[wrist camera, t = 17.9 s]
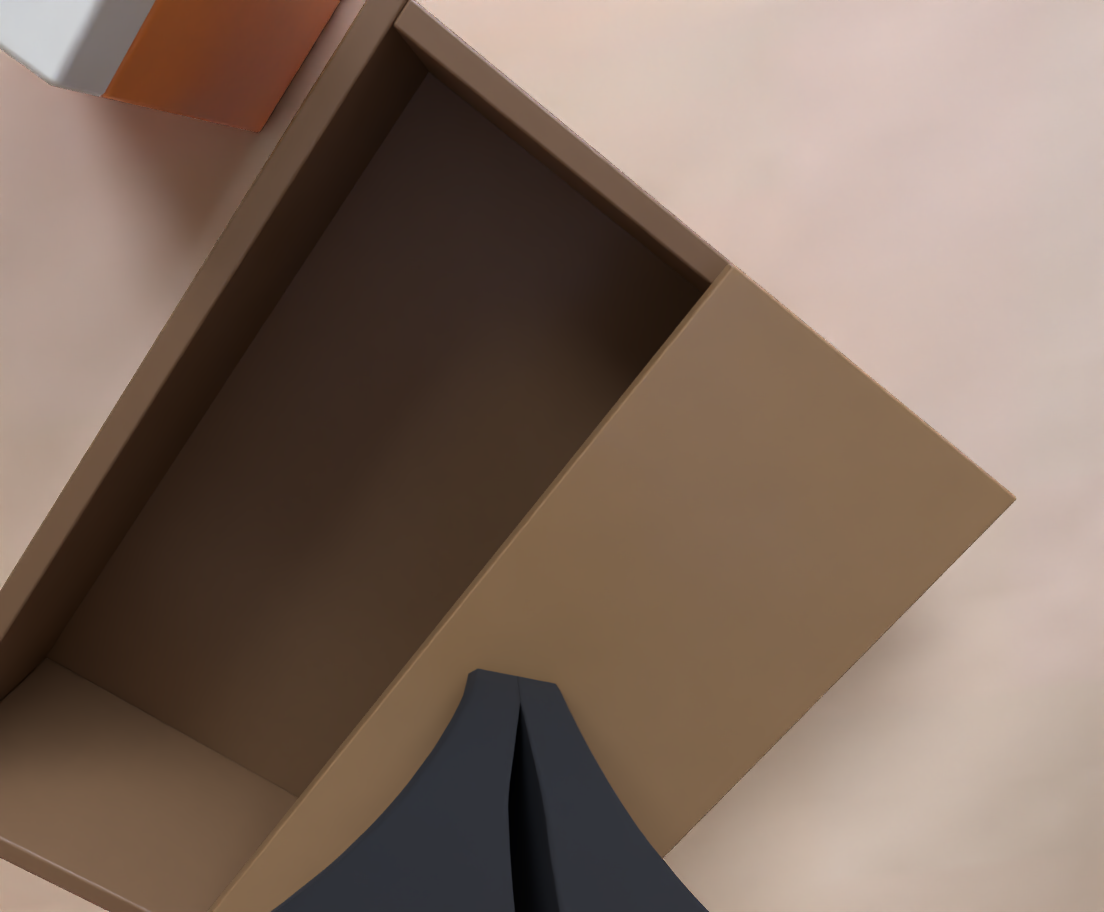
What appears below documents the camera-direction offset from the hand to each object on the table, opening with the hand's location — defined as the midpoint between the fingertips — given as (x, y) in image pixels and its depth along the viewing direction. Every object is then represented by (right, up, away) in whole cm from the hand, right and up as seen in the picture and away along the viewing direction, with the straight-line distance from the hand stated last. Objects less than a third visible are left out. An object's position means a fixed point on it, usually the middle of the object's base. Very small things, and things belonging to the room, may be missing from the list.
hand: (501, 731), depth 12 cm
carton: (-2, +3, +4) cm, 5 cm away
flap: (+1, 0, 0) cm, 1 cm away
